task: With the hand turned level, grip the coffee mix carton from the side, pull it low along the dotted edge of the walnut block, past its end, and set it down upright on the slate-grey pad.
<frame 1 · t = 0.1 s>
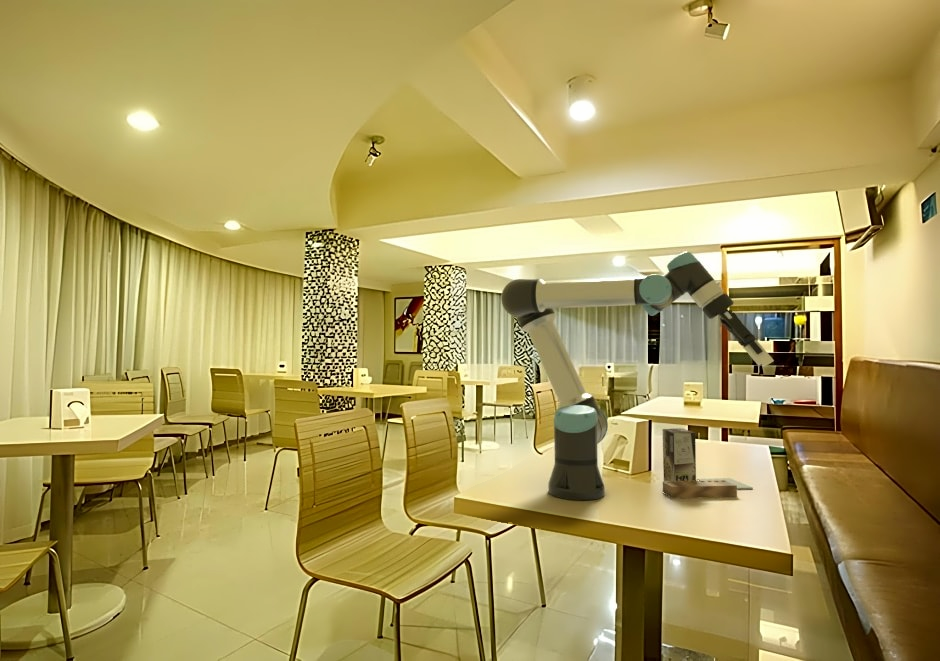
hand: (766, 363, 137), 36 cm above the table, tool tilted 35°, fingers open, 13 cm apart
coffee box: (679, 486, 150), on the table
perforated block: (699, 494, 141), on the table
stub pad: (724, 484, 152), on the table
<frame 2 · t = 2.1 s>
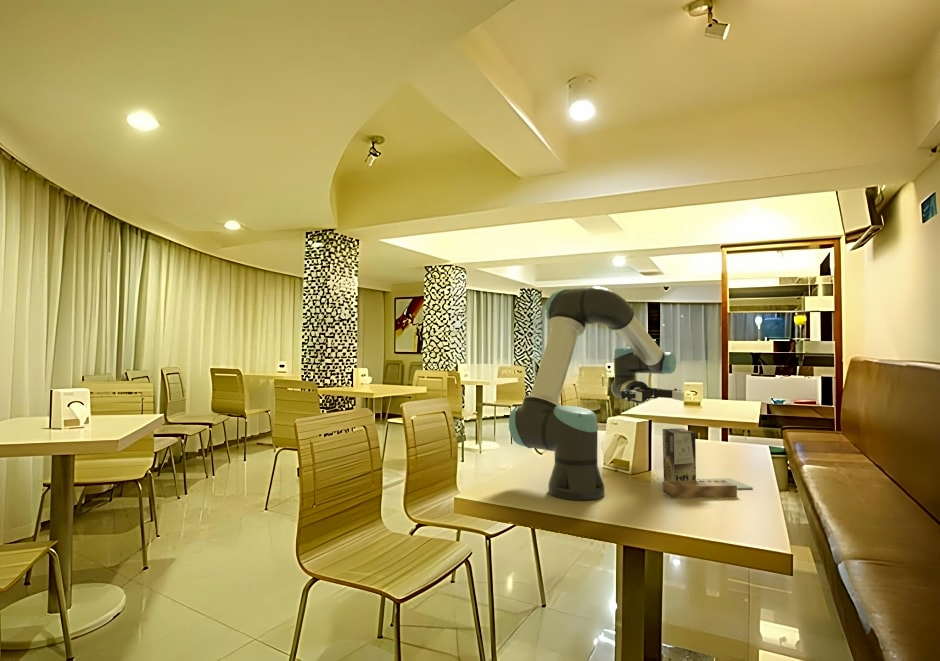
hand: (662, 396, 162), 25 cm above the table, tool horizontal, fingers open, 13 cm apart
nothing on the table moved.
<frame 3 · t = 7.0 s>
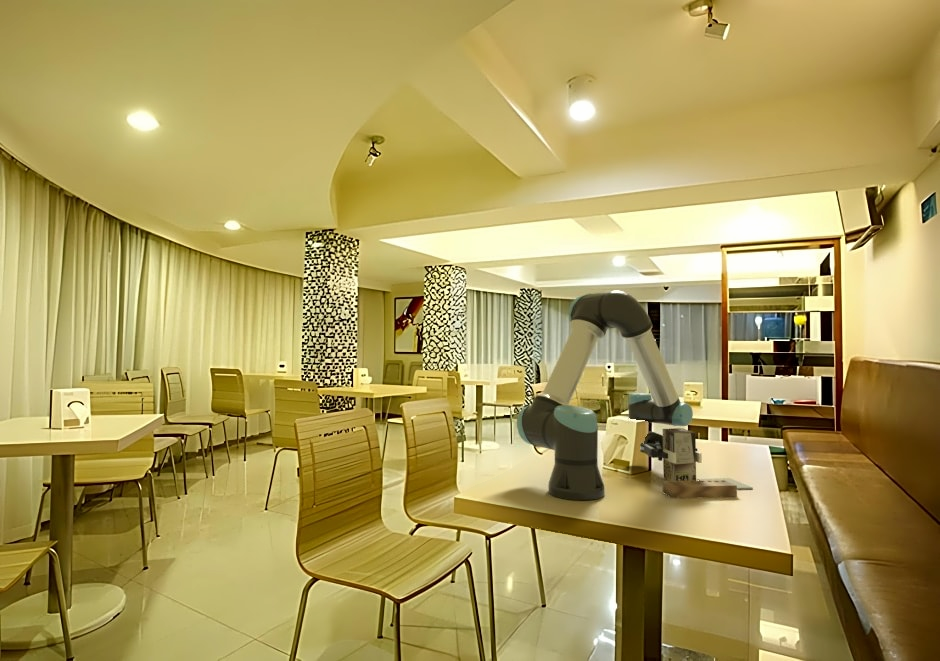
hand: (687, 458, 145), 9 cm above the table, tool horizontal, fingers closed on coffee box, 7 cm apart
coffee box: (679, 486, 150), on the table, touching gripper
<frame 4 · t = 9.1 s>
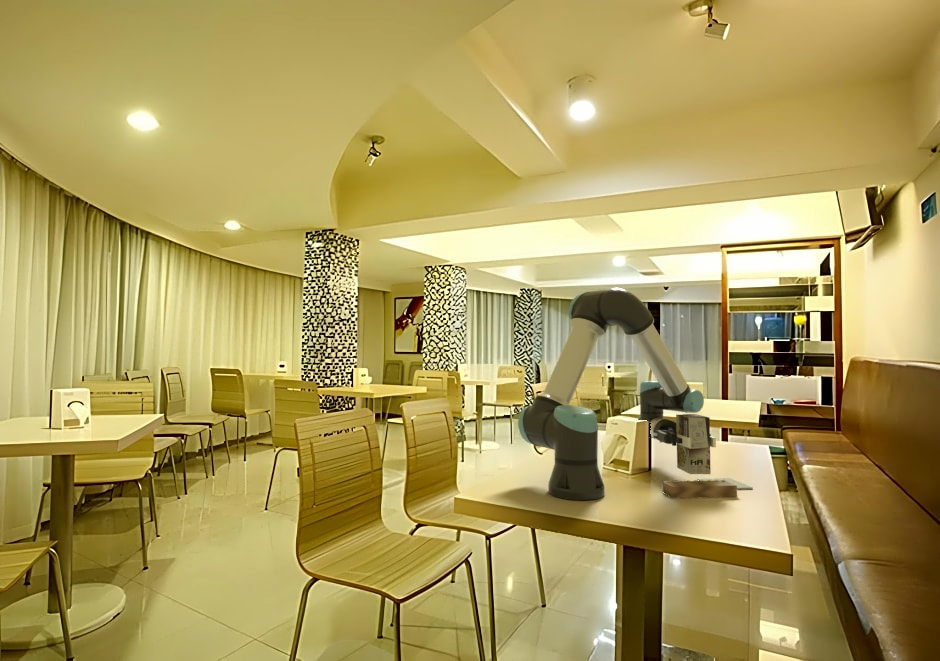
hand: (701, 442, 146), 13 cm above the table, tool horizontal, fingers closed on coffee box, 7 cm apart
coffee box: (693, 471, 151), point 4 cm above the table, touching gripper
when the fingers open (10 cm above the table, at t = 11.4 s): coffee box stays where it is, resting on stub pad.
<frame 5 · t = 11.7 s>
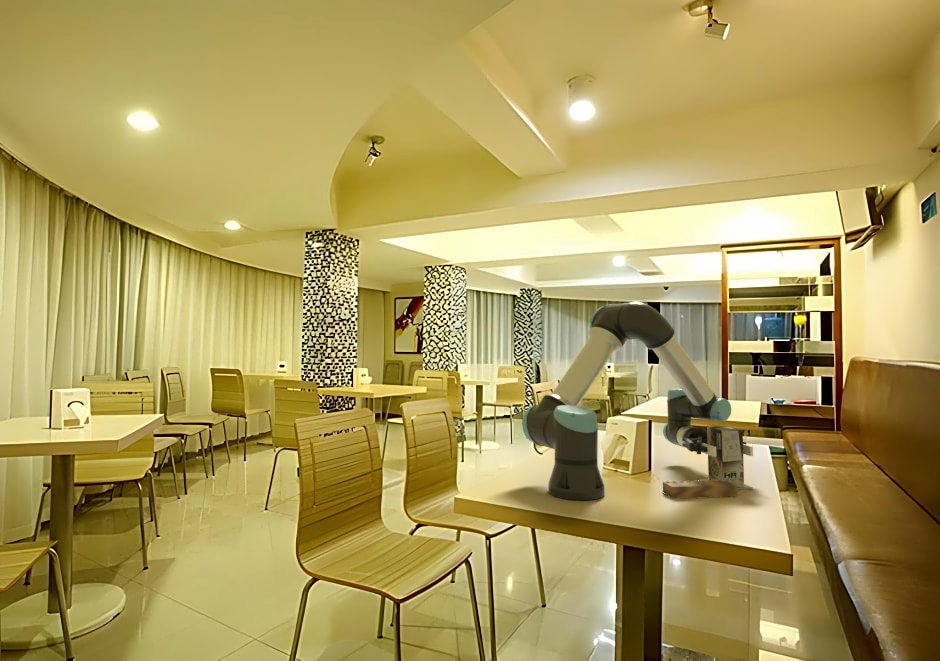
hand: (733, 451, 147), 10 cm above the table, tool horizontal, fingers open, 10 cm apart
coffee box: (725, 484, 151), resting on stub pad
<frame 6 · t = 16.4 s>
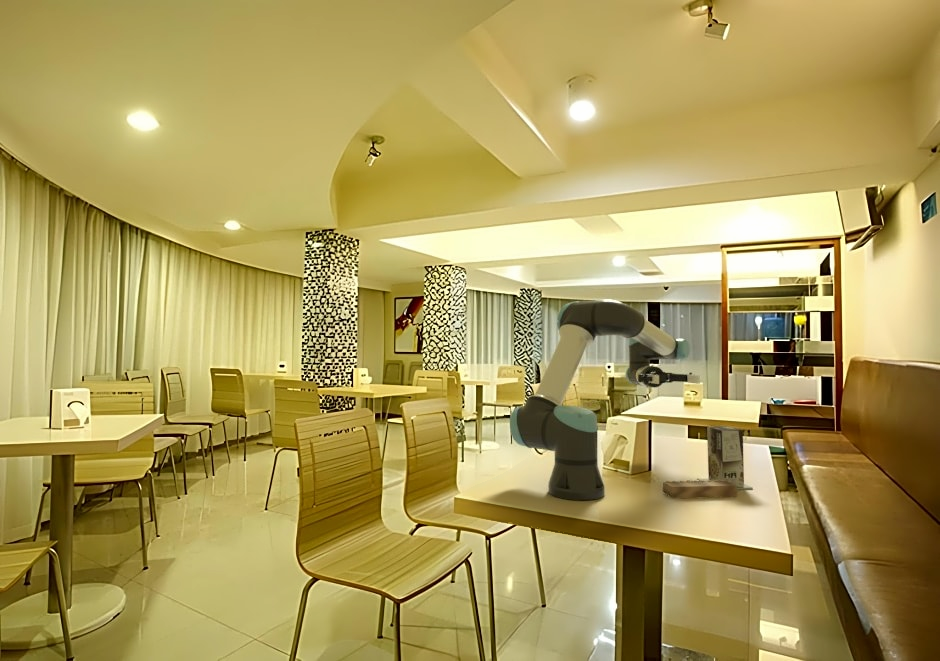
hand: (678, 379, 168), 30 cm above the table, tool horizontal, fingers open, 13 cm apart
nothing on the table moved.
at the end: coffee box inside the target area (0.0 cm from its centre), resting on stub pad; coffee box tilted 0°; the gripper is holding nothing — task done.
